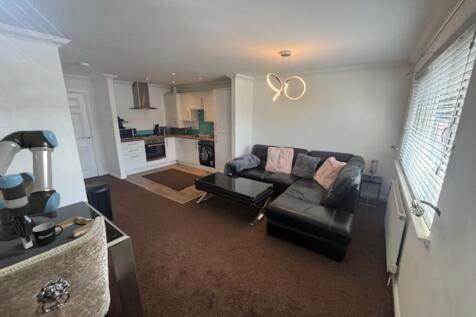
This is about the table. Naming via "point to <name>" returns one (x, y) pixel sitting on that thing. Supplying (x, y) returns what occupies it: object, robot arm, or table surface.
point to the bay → (76, 220)
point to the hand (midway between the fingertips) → (28, 246)
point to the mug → (45, 233)
